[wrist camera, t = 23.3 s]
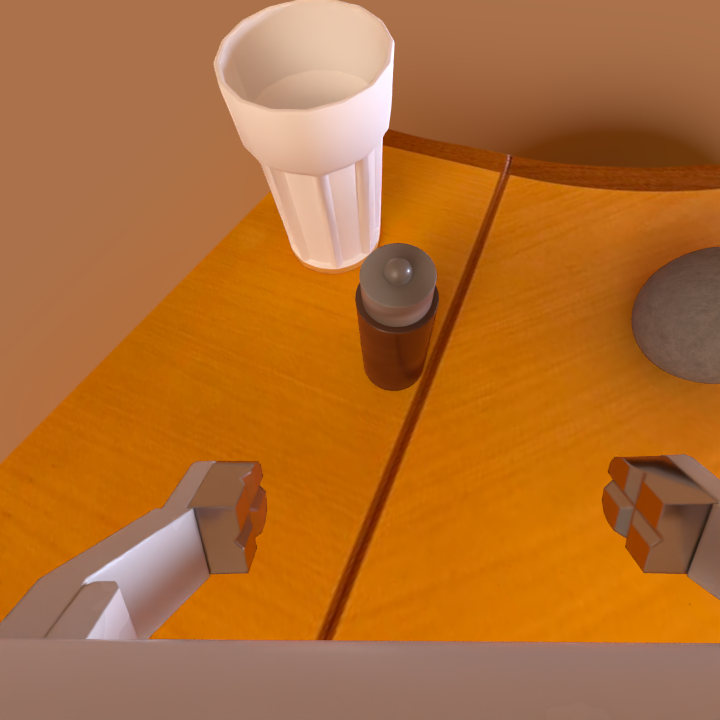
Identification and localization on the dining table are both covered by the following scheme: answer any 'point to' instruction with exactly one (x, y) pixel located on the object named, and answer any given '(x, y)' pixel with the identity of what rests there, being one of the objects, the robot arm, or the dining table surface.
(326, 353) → the dining table surface
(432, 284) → the pepper mill
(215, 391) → the dining table surface
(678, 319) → the decorative ball
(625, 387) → the dining table surface
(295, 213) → the cup
